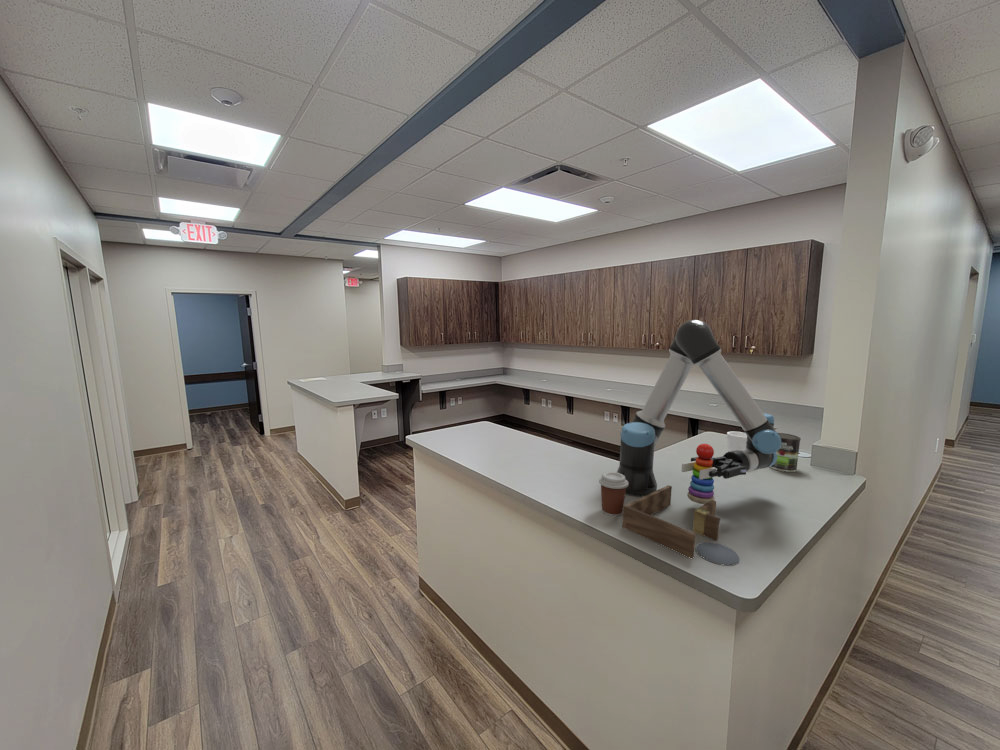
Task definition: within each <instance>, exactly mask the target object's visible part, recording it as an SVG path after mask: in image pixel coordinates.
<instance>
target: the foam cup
mask: <svg viewBox="0 0 1000 750" xmlns="http://www.w3.org/2000/svg"><path fill="white" fill-rule="evenodd" d="M726 441H727V452H730V451H736V450H740V449H746V441H747V434H746V433H745V432H741V431H727V432H726Z"/></svg>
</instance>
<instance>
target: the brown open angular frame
mask: <svg viewBox="0 0 1000 750" xmlns="http://www.w3.org/2000/svg"><path fill="white" fill-rule="evenodd" d="M671 501H672V485H670V484H669V485H666V486H664V487H662V488H659V489H657V491H655V492H652V493H650V494H648V495H646V496H641V497H640V498H638V499H635V500H634V501H630V502H629V503H627V504H625V505H623V513H622V522H621V523H622V524H621V527H622V528H623V529H626V530H628V531H630V532H633V533H634V534H637V535H639V536H641V537H643V538H645V539H647V538H648V540H650V541H651V542H652V541H653V542H654V543H656V542H657V543H656V544H658V543H659V544H658V545H660V544H662V545H664V546H663V547H665V546H666V547H665V548H667V547H668V548H667V549H669V548H670V549H669V550H671V549H673V550H675V551H677V552H676V553H678V552H679V553H678V554H680V553H681V554H680V555H682V554H683V555H682V556H684V555H685V557H686V556H687V558H688V557H690V558H692V559H694V558H695V550H696V535H697V533H695V532H693V531H689V530H688V529H685V528H683V527H680V526H679V525H676V524H673V523H671V522H668V521H665V520H663V519H661V518H658V517H656V516H654V514H655V513H658V512H659V511H662V510H664V509H666V508H667V507H669V506H671V503H672V502H671ZM699 508H702V509H705V510H707V511H710V514H706V522H705V535H704V537H706V538H708V539H711V540H712V541H715V542H716V541H718V540H719V533H720V532H719V531H720V520H721V517H719V516H717V515H716V509H717V501H716V500H711V501H709V502H708V503H706V504H702V505H701V506H700V507H699ZM662 545H661V546H662ZM673 550H672V551H673ZM675 551H674V552H675ZM693 557H694V558H693ZM690 558H689V559H690Z"/></svg>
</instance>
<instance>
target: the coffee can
mask: <svg viewBox="0 0 1000 750" xmlns="http://www.w3.org/2000/svg"><path fill="white" fill-rule="evenodd" d="M777 433H778V434H779V436H780V437H781V442H782V444H781V447H780V449H779V450H778V451H777V452H776V454H777V461H776V463H775V464H774V465H772V466H770V467H769V469H773V470H775V471H780V472H784V471H786V473H795V471H796V472H797V470H798V459H799V453H800V451H799V450H800V444H801V443H800V442H801V439H802V438H801V437H800V436H798V435H794V434H790V433H784V432H777Z"/></svg>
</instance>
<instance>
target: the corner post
mask: <svg viewBox="0 0 1000 750" xmlns="http://www.w3.org/2000/svg"><path fill="white" fill-rule="evenodd" d="M693 512H694V513H693V514H694V515H693V522H692V523H693V524H692V525H693V526H692V532H693V533H695V534H696V535H697V534H698V535H700V536H704V535H705V522H706V514H710V511H707V510H705V509H702V508H700V507H698V508H696V509H694V511H693ZM704 537H705V536H704Z"/></svg>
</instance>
